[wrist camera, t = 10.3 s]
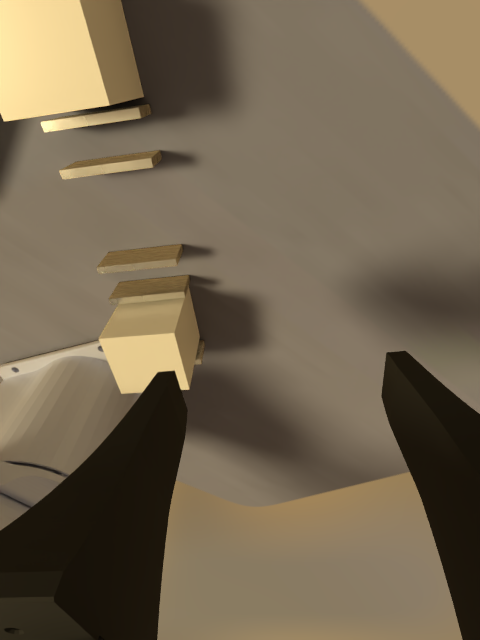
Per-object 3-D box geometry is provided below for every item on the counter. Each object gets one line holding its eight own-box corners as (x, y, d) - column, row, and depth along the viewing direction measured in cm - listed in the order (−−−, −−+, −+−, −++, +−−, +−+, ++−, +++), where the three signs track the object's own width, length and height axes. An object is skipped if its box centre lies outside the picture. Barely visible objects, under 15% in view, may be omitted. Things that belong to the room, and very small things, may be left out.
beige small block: (200, 336, 25) (189, 389, 21) (142, 340, 25) (121, 393, 21) (188, 284, 23) (174, 333, 18) (126, 290, 23) (98, 339, 19)
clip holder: (204, 344, 25) (201, 364, 23) (143, 349, 25) (135, 369, 24) (115, -44, 14) (97, -59, 13) (10, -24, 15) (-21, -36, 13)
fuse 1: (144, 96, 17) (109, 105, 13) (63, 109, 17) (4, 121, 13) (116, -19, 15) (64, -53, 11) (24, -1, 15) (-62, -28, 11)
